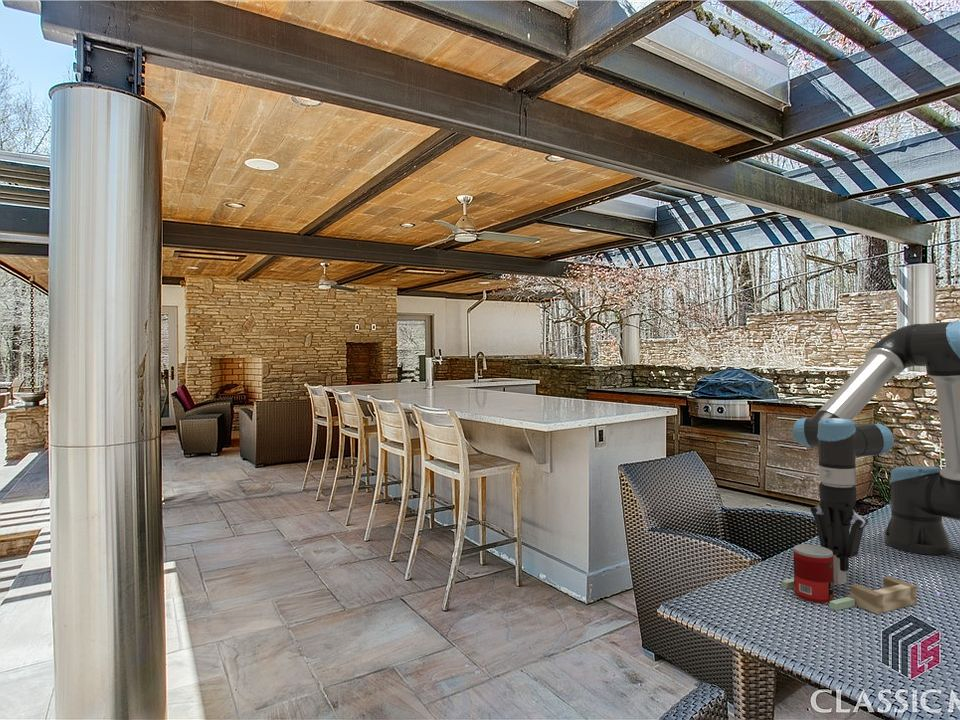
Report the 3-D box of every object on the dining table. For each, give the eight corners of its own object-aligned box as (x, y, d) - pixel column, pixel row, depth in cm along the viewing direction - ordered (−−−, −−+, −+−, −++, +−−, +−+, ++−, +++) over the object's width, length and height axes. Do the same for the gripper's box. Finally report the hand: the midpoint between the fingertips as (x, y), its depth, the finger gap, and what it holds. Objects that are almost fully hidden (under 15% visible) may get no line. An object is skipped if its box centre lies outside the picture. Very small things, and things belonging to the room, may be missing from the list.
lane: (837, 573, 144) (836, 558, 144) (916, 603, 126) (916, 586, 126) (799, 581, 139) (799, 565, 139) (876, 614, 122) (876, 595, 122)
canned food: (838, 605, 126) (838, 556, 126) (799, 601, 128) (798, 553, 128) (827, 591, 134) (827, 545, 134) (790, 588, 136) (789, 542, 136)
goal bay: (799, 582, 139) (799, 576, 139) (855, 606, 126) (854, 599, 126) (781, 586, 137) (781, 580, 137) (835, 610, 124) (835, 603, 124)
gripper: (801, 480, 138) (803, 575, 139) (852, 491, 126) (855, 596, 126) (823, 477, 141) (825, 570, 141) (875, 487, 129) (878, 590, 129)
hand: (839, 582), depth 134 cm, fingers closed
